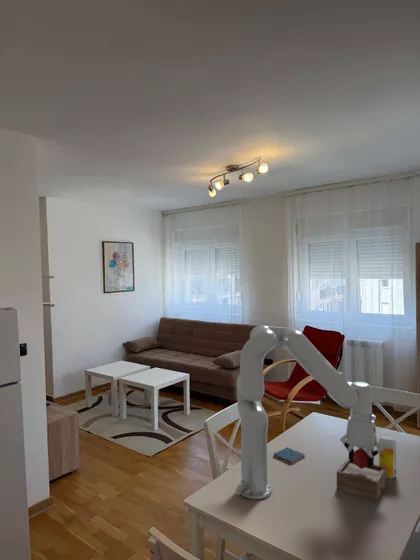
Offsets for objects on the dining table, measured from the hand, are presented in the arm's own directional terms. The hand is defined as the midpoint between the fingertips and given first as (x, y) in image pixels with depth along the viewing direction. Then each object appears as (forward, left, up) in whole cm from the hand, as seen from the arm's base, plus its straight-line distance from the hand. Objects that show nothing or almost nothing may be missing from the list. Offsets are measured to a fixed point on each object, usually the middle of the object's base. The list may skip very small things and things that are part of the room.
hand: (361, 463), depth 142 cm
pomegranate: (0, 0, -2) cm, 2 cm away
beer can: (+14, -6, -9) cm, 18 cm away
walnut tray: (0, 0, -8) cm, 8 cm away
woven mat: (+5, +32, -9) cm, 34 cm away
